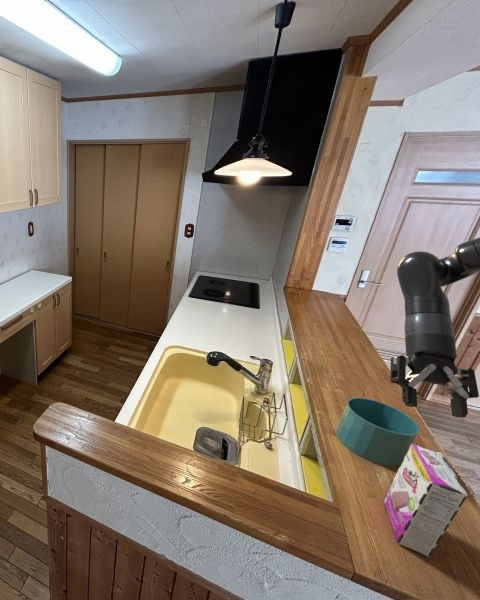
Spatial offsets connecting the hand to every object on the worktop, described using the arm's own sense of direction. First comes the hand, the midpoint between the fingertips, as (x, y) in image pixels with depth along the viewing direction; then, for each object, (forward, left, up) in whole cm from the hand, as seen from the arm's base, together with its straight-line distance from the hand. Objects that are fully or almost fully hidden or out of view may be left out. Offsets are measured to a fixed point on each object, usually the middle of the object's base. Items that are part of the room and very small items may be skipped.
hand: (434, 411), depth 67 cm
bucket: (0, -16, -22) cm, 27 cm away
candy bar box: (+2, +10, -23) cm, 25 cm away
